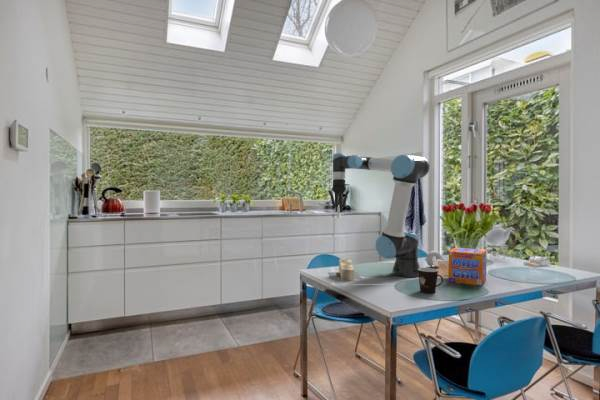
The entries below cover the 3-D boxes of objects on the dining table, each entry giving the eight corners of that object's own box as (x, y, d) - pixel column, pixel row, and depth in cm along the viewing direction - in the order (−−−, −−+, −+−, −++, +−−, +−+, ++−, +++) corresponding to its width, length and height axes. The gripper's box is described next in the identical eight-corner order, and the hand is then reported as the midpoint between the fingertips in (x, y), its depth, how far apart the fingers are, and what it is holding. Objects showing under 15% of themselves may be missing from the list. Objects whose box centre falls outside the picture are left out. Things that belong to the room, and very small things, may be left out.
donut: (440, 266, 220) (440, 250, 220) (443, 267, 217) (443, 250, 217) (424, 267, 219) (425, 250, 218) (427, 268, 215) (428, 251, 215)
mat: (356, 273, 201) (356, 269, 201) (362, 280, 185) (362, 275, 185) (327, 273, 200) (327, 269, 200) (331, 280, 184) (331, 275, 184)
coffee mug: (414, 289, 168) (414, 267, 167) (432, 289, 168) (432, 267, 168) (425, 296, 156) (425, 273, 156) (444, 296, 157) (444, 273, 157)
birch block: (350, 259, 193) (354, 269, 182) (349, 269, 195) (353, 280, 183) (339, 259, 193) (342, 269, 181) (338, 269, 195) (341, 280, 183)
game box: (482, 286, 174) (482, 253, 174) (448, 281, 182) (448, 251, 182) (486, 279, 187) (486, 249, 187) (454, 276, 195) (454, 247, 195)
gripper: (350, 179, 221) (350, 217, 222) (330, 179, 226) (329, 217, 226) (348, 178, 214) (348, 218, 215) (327, 179, 218) (326, 218, 219)
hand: (338, 217), depth 220 cm, fingers closed
